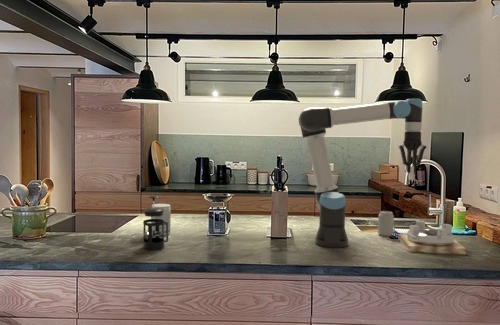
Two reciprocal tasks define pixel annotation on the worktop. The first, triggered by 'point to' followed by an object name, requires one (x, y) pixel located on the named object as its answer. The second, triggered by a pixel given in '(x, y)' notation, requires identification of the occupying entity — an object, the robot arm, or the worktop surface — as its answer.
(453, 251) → the base plate
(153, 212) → the french press
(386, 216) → the can
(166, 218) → the supplement tub
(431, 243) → the ring nut
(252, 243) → the worktop surface
